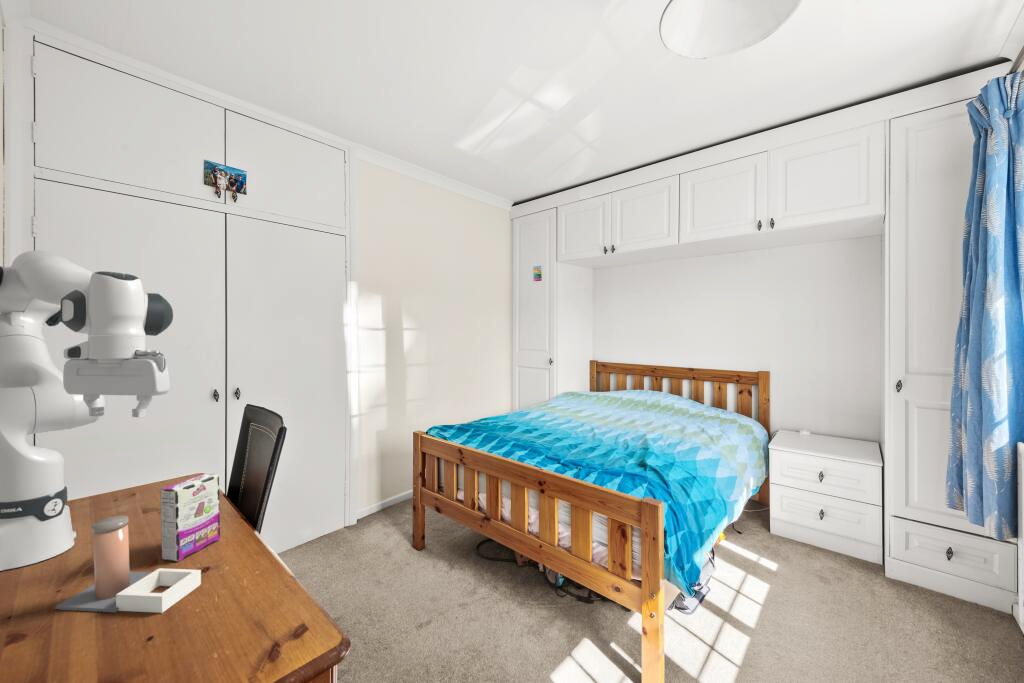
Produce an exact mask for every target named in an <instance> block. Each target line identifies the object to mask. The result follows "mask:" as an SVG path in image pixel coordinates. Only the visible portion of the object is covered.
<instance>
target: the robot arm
mask: <svg viewBox="0 0 1024 683" xmlns="http://www.w3.org/2000/svg"><path fill="white" fill-rule="evenodd" d="M173 319H174V310H173V308H172V305H171V304H170V303H169V302H168V300H167V299H166V298H165V297H163V296H162V295H161V294H160V293H155V292H153V293H151V292H147V293H145V291H144V286H143V283H142V280H141V278H139V277H137V276H135V275H133V274H130V273H129V274H128V273H121V272H114V271H101V270H100V271H96V272H94V271H91V270H89V269H87V268H85V267H82V266H80V265H78V264H77V263H75V262H73V261H71V260H70V259H68V258H66V257H64V256H62V255H60V254H58V253H57V254H56V253H54V252H50V251H45V250H44V251H43V250H30V251H29V250H28V251H25V252H23V253H20V254H19V255H17V256H16V257H15V258H14V260H13V262H12V264H11V265H10V266H7V267H4V266H0V572H1V571H6V570H11V569H12V570H13V569H16V568H22V567H25V566H29V565H33V564H36V563H39V562H42V561H46V560H48V559H51V558H53V557H57V556H58V555H61V554H62V553H65V552H66V551H68V550H69V549H71V548H72V547H73V546H74V545H75V543H76V542H75V540H74V539H75V538H76V537H77V532H76V531H74V530H73V524H72V518H71V510H70V507H69V506H68V505H66V504H67V503H68V495H69V492H68V487H67V486H66V485H65V458H64V456H63V454H62V453H60V452H59V451H57V450H54V449H52V448H48V447H42V446H38V445H37V446H36V445H32V444H29V443H28V442H27V436H29V435H32V434H41V433H48V432H56V431H63V430H70V429H75V428H78V427H83V426H86V425H89V424H93V423H95V422H97V421H98V420H99V419H100V418H101V416H102V417H103V416H104V415H105V410H106V404H107V403H106V401H107V400H106V399H105V396H136V402H137V405H136V407H135V408H132V409H131V413H132V414H131V416H132V418H144V417H146V416H147V415H148V414H147V411H148V407H149V405H150V404H151V402H152V400H153V397H155V396H162V395H166V394H168V393H169V391H170V389H171V383H170V382H171V381H170V375H169V373H170V372H169V368H168V365H167V358H166V356H165V355H164V354H163V353H161V352H160V351H159V350H154V349H153V350H147V347H146V346H147V345H146V344H147V342H146V340H147V337H146V336H152V337H153V336H154V337H155V336H156V337H157V336H159V334H161V333H162V332H164V331H166V330H167V329H168V328H169V327H170V326H171V325H172V322H173ZM60 323H62V324H63V325H64V326H65V327H67V329H69V330H71V331H73V332H74V333H79V334H83V335H84V334H87V340H86V341H83V342H80V343H79V344H75V345H72V346H70V347H69V346H68V347H67V348H64V350H63V358H64V359H66V361H65V363H64V365H63V371H61V370H60V369H59V368H58V367H56V365H55V363H54V361H53V359H52V357H51V354H50V351H49V350H50V349H49V348H48V344H47V341H46V339H45V336H44V333H43V328H44V326H45V324H46V326H49V327H56V326H58V325H59V324H60Z"/></svg>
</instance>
